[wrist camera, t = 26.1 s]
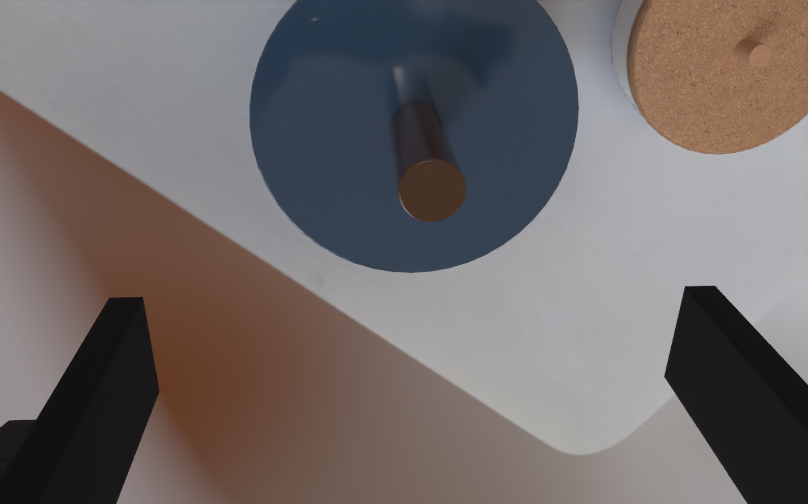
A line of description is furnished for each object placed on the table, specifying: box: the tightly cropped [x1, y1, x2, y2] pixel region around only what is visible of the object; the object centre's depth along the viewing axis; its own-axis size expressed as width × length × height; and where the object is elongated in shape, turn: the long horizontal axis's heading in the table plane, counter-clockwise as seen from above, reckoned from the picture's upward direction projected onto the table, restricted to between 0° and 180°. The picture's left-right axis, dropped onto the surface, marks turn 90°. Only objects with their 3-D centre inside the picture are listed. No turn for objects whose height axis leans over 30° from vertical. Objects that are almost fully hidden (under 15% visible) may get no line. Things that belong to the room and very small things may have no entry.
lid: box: [250, 0, 579, 273], centre depth 28 cm, size 15×15×9 cm
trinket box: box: [611, 0, 808, 154], centre depth 36 cm, size 11×11×9 cm
